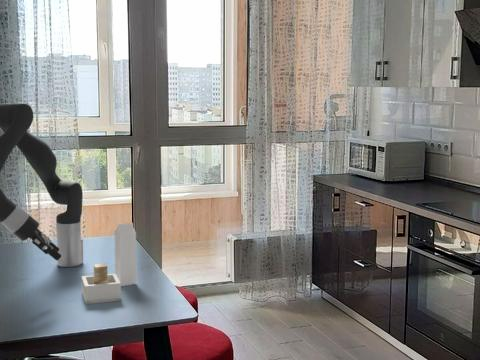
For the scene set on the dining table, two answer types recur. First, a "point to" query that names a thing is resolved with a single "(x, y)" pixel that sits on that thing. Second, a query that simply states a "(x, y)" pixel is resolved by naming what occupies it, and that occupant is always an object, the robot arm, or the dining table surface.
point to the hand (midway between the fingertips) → (58, 254)
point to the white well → (101, 290)
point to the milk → (125, 254)
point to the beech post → (100, 273)
